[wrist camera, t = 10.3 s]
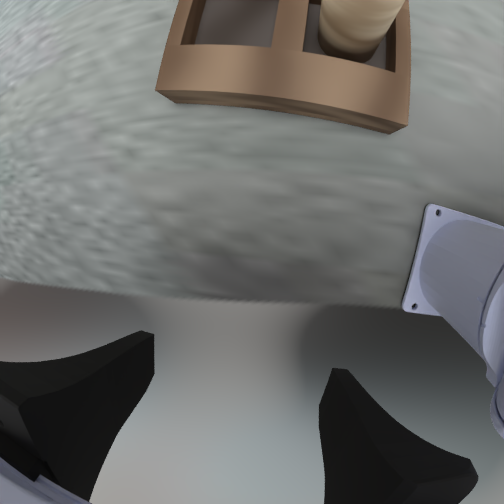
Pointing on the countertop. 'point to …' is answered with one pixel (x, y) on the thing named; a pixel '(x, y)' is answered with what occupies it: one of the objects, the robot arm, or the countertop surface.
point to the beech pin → (355, 27)
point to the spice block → (283, 63)
